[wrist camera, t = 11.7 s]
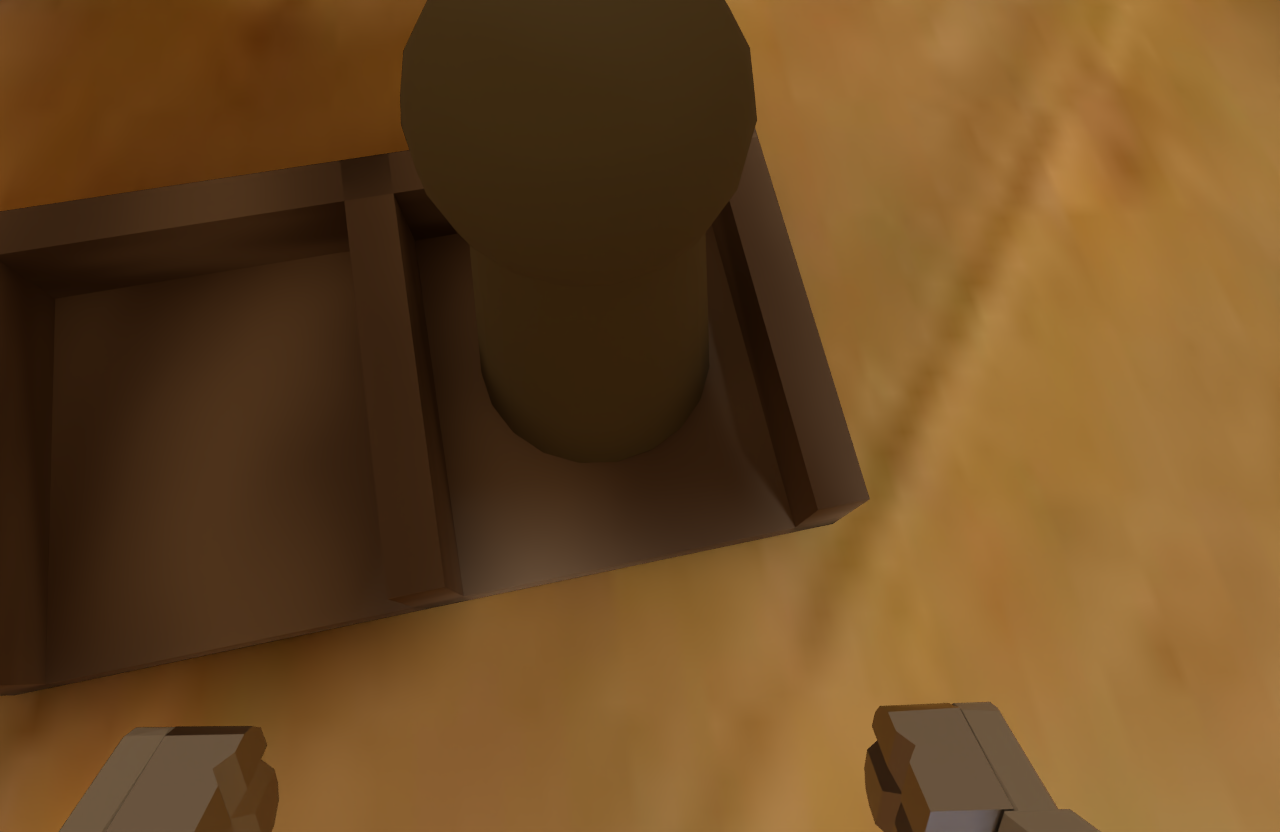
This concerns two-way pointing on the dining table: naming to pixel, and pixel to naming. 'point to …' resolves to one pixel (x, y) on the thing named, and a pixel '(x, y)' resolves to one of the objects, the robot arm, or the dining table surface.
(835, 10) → the dining table surface
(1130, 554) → the dining table surface
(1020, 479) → the dining table surface
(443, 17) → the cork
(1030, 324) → the dining table surface
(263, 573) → the brown wooden tray
